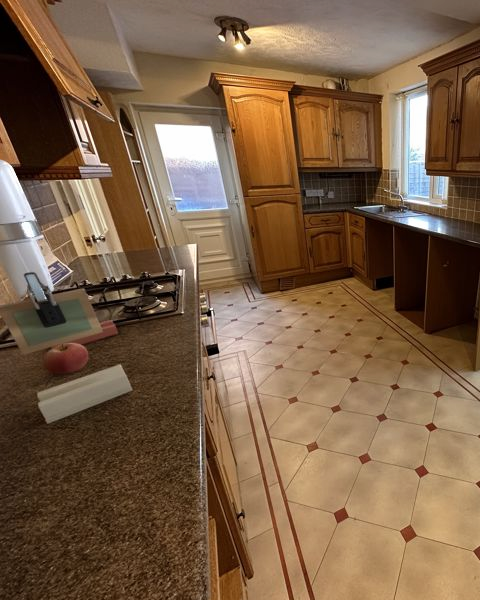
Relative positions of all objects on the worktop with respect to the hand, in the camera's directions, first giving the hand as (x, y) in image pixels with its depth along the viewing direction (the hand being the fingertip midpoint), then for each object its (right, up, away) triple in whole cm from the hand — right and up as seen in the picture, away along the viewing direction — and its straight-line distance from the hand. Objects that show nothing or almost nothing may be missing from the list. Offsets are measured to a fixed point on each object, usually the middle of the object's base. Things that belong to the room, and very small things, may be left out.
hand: (55, 322), depth 65 cm
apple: (-14, -14, +17) cm, 26 cm away
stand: (-22, -8, +30) cm, 38 cm away
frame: (0, -4, +2) cm, 5 cm away
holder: (0, -17, +7) cm, 19 cm away
